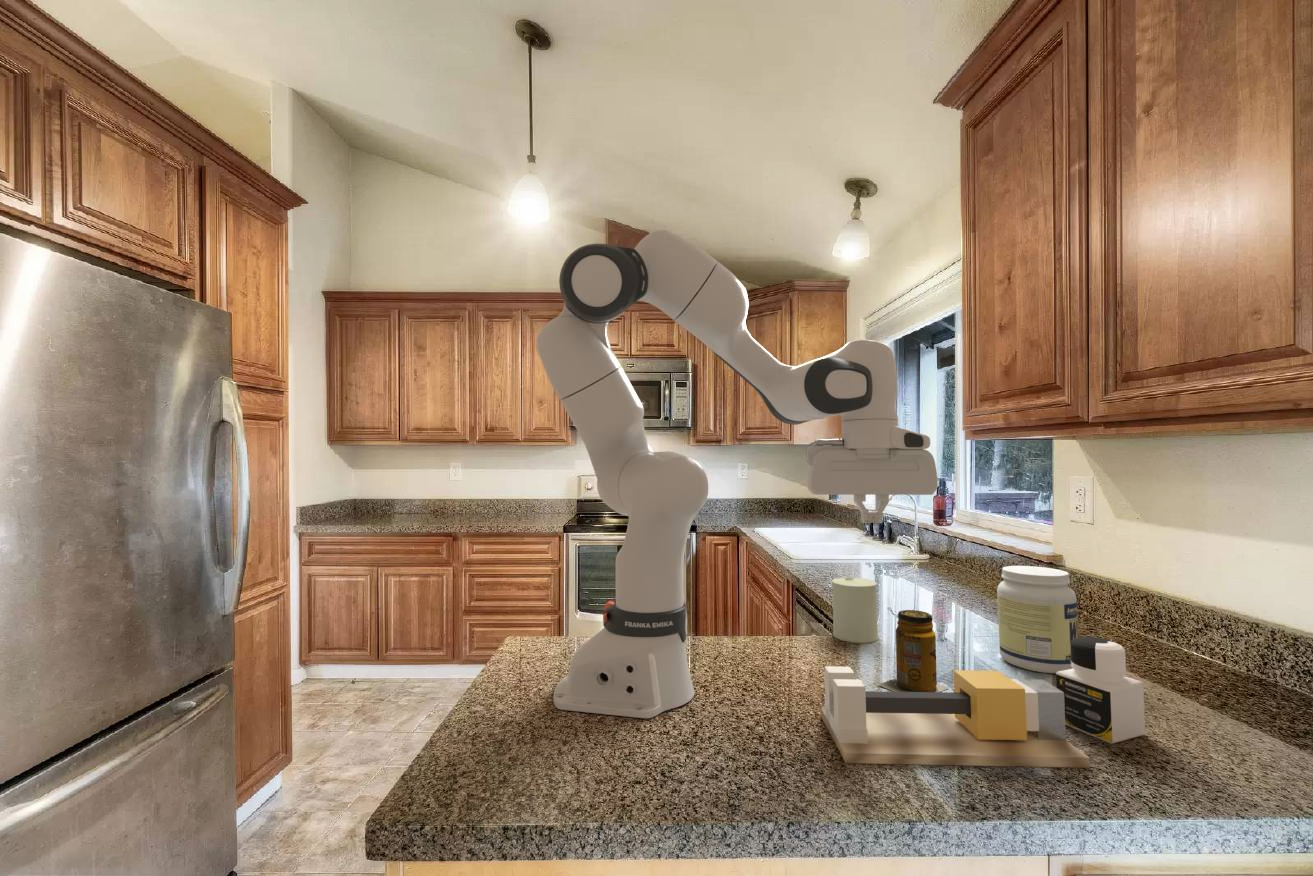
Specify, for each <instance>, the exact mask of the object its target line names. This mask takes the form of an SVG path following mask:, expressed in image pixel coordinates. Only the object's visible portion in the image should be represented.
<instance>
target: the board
mask: <svg viewBox="0 0 1313 876" xmlns="http://www.w3.org/2000/svg"><path fill="white" fill-rule="evenodd" d="M820 717H821V719H822V721H823V723H824V725H825V726H826V728H828V729H827V731H828V730H829V731H828V732H829V735H830V736H831V738H832V740H833V741H834V744H835V745H836V748H837V749H838V752H839V751H840V752H839V753H840V755H841V757H842V759H843V761H844V762H845V764H879V765H880V764H882V765H885V764H887V765H929V766H930V765H931V766H932V765H933V766H983V767H985V766H986V767H989V766H990V767H1028V768H1029V767H1031V768H1032V767H1033V768H1035V767H1037V768H1039V767H1040V768H1078V769H1079V768H1080V769H1081V768H1082V769H1083V768H1084V769H1085V768H1087V769H1089V768H1090V767H1091V763H1090V756H1088V755H1087V754H1085V753H1084V752H1082V751H1081V750H1080V749H1079V748H1077V747H1076V746H1075V745H1073V744H1072V743H1070V742H1069V741H1067V739H1066V740H1038V739H1037V738H1036V737H1034V736H1033V735H1032V734H1031V733H1029V732H1028V731H1027V740H989V739H977V738H976V737H975V736H974V735H973V734H972V733H971V732H970V731H969V730H968V729H967V728H966V727H965V726H964V725H963V724H962V723H961V722H960V721H959V720H957V719H956V718H955V714H922V713H866V728H867V733H868V744H860V743H840V742H839V741H838V739H837V737H836V735H835V733H834V731H833V729H832V728H831V726H830V724H829V722H828V720H827V718H826V717H825V707H821V708H820Z"/></svg>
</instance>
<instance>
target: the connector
mask: <svg viewBox="0 0 1313 876" xmlns="http://www.w3.org/2000/svg"><path fill="white" fill-rule="evenodd" d="M1016 679H1017V678H1016ZM1017 680H1019V681H1020V682H1022V683H1023V684H1025V685H1026V686H1028V687H1029V688H1031V689H1032V690H1034V691H1036V692H1037V693H1038V715H1039V731H1028V732H1029V733H1031V734H1032V735H1033V736H1034V737H1036V738H1037V739H1038V740H1066V741H1067V736H1066V735H1067V734H1066V732H1067V729H1066V728H1067V727H1066V725H1065V703H1064V692H1062V691H1061V690H1059V689H1057V686H1054V685H1052V684H1051V683H1049V682H1048V681H1046V680H1044V679H1023V678H1022V679H1017Z"/></svg>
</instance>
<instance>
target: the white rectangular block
mask: <svg viewBox="0 0 1313 876" xmlns="http://www.w3.org/2000/svg"><path fill="white" fill-rule="evenodd" d="M1010 679H1011V680H1013V681H1014V682H1016V683H1017V684H1019V685H1020V686H1022V687H1023V688H1025V702H1026V729H1027V731H1039V715H1038V693H1037V692H1036V691H1034V690H1032V689H1031V688H1029V687H1028V686H1026V685H1025V684H1023V683H1022V682H1020V681H1019V680H1017V678H1010Z"/></svg>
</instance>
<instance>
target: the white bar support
mask: <svg viewBox="0 0 1313 876" xmlns="http://www.w3.org/2000/svg"><path fill="white" fill-rule="evenodd" d="M855 677H856V676H855V671H854V670H853V669H852V668H851V666H829V665H828V666H826V665H825V666H824V695H825V696H824V697H825V698H824V701H825V702H824V708H825V717H826V718H827V720H828V722H829V724H830V726H831V728H832V729H833V731H834V733H835V735H836V737H837V739H838V741H839V742H840V743H860V744H868V733H867V728H866V686H865V684H864V683H863V682H862V680H861V679H858V678H855ZM833 697H834V706H833Z"/></svg>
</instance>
